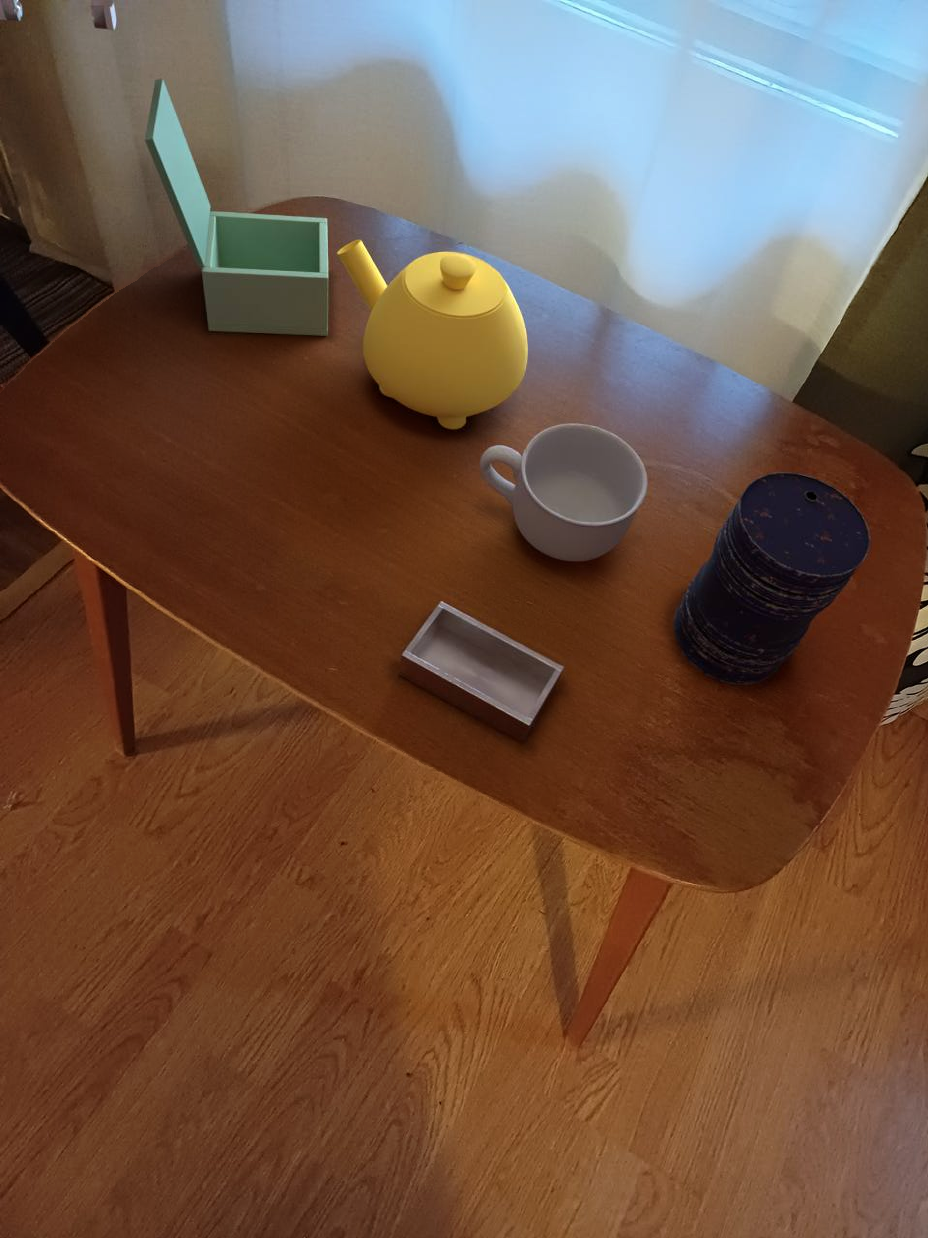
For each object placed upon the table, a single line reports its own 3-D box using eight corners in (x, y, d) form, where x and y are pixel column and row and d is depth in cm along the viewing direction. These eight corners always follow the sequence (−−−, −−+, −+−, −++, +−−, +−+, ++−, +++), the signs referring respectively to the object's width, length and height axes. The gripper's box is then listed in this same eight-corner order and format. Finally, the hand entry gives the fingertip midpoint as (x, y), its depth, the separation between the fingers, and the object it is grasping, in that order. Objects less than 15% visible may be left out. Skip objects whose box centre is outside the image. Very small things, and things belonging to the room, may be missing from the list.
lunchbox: (326, 276, 98) (326, 217, 93) (327, 336, 93) (328, 277, 88) (214, 270, 97) (207, 210, 91) (208, 331, 91) (201, 271, 86)
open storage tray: (398, 674, 72) (401, 654, 70) (436, 621, 75) (440, 600, 73) (522, 744, 70) (529, 725, 68) (556, 686, 73) (564, 667, 71)
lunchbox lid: (162, 77, 80) (155, 79, 80) (152, 138, 75) (144, 139, 75) (210, 205, 91) (203, 207, 91) (204, 266, 85) (197, 268, 85)
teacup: (638, 515, 85) (665, 453, 78) (599, 599, 79) (624, 540, 72) (501, 456, 87) (516, 391, 80) (452, 533, 81) (464, 470, 74)
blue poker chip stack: (772, 704, 75) (860, 598, 63) (658, 657, 76) (723, 543, 64) (794, 615, 81) (880, 501, 68) (688, 572, 82) (753, 452, 70)
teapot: (292, 371, 90) (288, 245, 78) (383, 294, 98) (391, 170, 87) (466, 466, 86) (489, 348, 74) (546, 377, 94) (577, 259, 83)
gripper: (-179, -215, 57) (-96, 28, 68) (166, -172, 60) (190, 53, 72) (-151, -247, 61) (-77, -11, 72) (173, -205, 64) (195, 14, 75)
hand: (59, 21), depth 72 cm, fingers open, 5 cm apart
